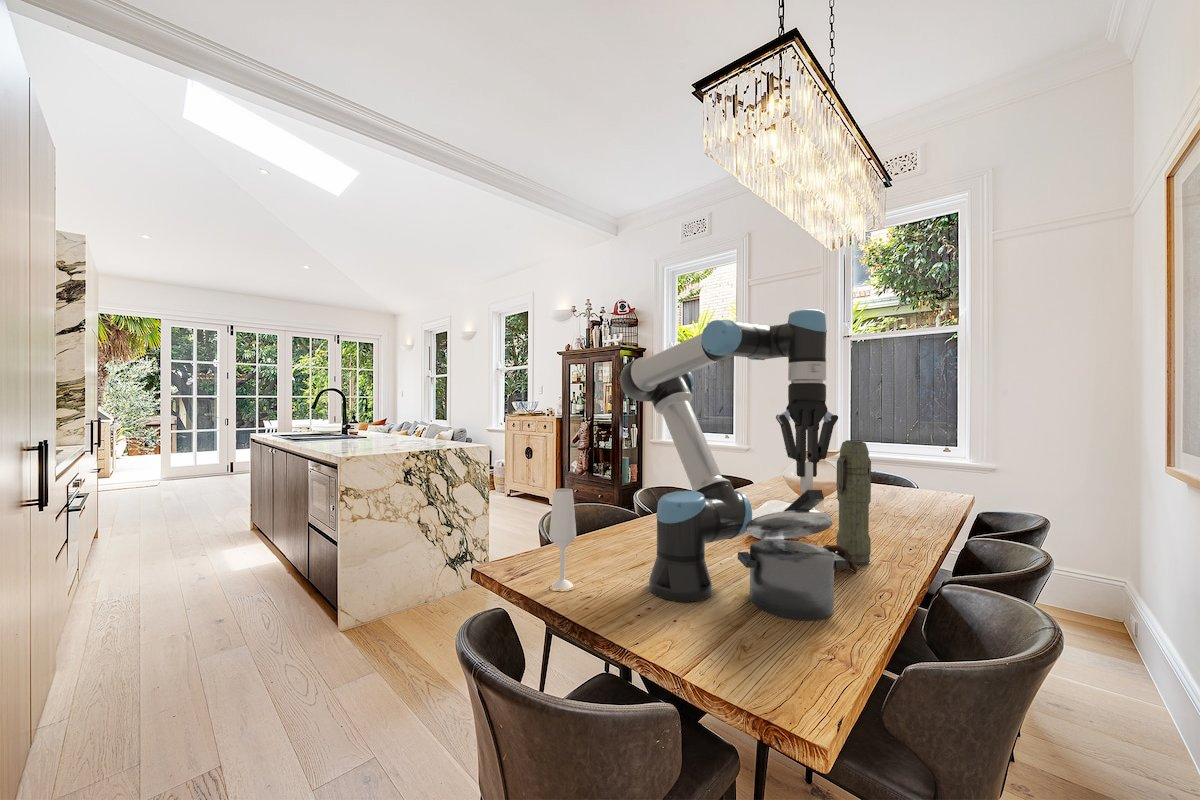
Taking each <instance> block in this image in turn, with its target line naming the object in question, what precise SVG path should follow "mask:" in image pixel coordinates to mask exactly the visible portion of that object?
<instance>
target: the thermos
mask: <svg viewBox="0 0 1200 800" xmlns="http://www.w3.org/2000/svg"><path fill="white" fill-rule="evenodd" d="M839 448H840V449H839V457H838V459H837V460H836V494H837V495H836V496H837V497H836V498H837V501H838V531H837V533H836V545H839V546H842V547H844V548H845V549H846V550H847V551H848V552H849V553H851V554H852V555H853V559H854V560H855V562H853V563H854V564H855V565H859V564H863V565H868V563H869V562H870V563H871V558H870V556H871V552H872V551H871V549H872V548H871V546H872V545H871V543H872V541H871V537H870V534H869V531H870V530H869V526H870V525H869V520H870V519H869V517H870V515H869V514H870V512H869V511H870V509H869V506H870V503H871V502H872V501H871V499H872V498H871V497H872V496H871V495H872V494H871V493H872V492H871V491H872V461H871V459H870V457H869V448H868V446H867V443H866V442H864V441H863V440H855V439H854V440H851V439H848V440H845V441H842V443H841V445H840V447H839ZM836 553H838V551H836ZM870 563H869V564H870Z"/></svg>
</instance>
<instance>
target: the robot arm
mask: <svg viewBox="0 0 1200 800" xmlns="http://www.w3.org/2000/svg"><path fill="white" fill-rule="evenodd" d="M827 332H828V330H827V322H826V313H824V311H822V310H819V309H800V310H794V311H793V312H790V313H789V314H788V320H787V322H786V323H783V324H775V325H763V324H755V323H746V322H741V321H740V322H739V321H733V320H730V319H715V320H712V321H709V322H708V323H707V325H706V326H705V327H703V330H702V332H701V333H699V334H697V335H696V336H692V337H691V338H689V339H686V340H684V341H682V342H680V343H678V344H676V345H673V346H671V347H669V348H667V349H665V350H662V351H660V352H658V353H656V354H654V355H652V356H650V357H643V356H642V357H638V358H636V359H634V360H632V361H630V362H629V363H627V364H626V365H625V366H624V367H623V369H622V370H621V373H620V376H619V384H620V387H621V390H622V392H623V393H624V394H625V395H626V396H627V397H628V398H630V399H632V400H634V401H637V402H651V403H652V405H653V408H654V410H655V412H656V413H657V414H659V415H662V417H663V418H664V421H665V424H666V427H667V429H668V431H669V434H670V436H671V439H672V442H673V444H674V446H675V450H676V452H677V454H678V457H679V459H680V462H681V464H682V466H683V469H684V472H685V475H686V476H687V479H688V482H689V484H690V487H691V490H677V491H672V492H668V493H665V494H663V495H662V496H661V497H660V498H659V499H658V502H657V511H656V515H655V516H656V557H655V560H654V564H653V567H652V570H651V573H650V576H649V581H648V583H649V585H648V586H649V587H648V588H649V591H650V590H651V591H652V592H653V593H654V594H653V593H652V592H651V591H650V592H651V593H652V594H653V595H655V594H656V595H655V596H657V595H658V596H657V597H659V596H660V597H659V598H661V597H662V598H661V599H664V598H665V600H668V599H669V600H668V601H672V600H675V601H674V602H681V601H684V602H683V603H687V602H689V603H690V601H691V603H692V602H698V601H702V600H705V599H707V598H709V597H710V596H711V595H712V593H713V590H712V589H713V588H712V586H713V584H712V583H713V582H712V579H711V576H710V573H709V570H708V566H707V563H706V559H705V556H706V555H705V553H706V552H705V550H706V548H705V547H706V544H708V543H713V542H718V541H722V540H723V541H725V540H733V539H734V538H738V537H740V536H742V535H744V534H745V533H747V530H746V524H747V523H748V522H749V521H751V520H753V508H752V505H751V502H750V500H749V498H748V497H747V496H746V495H745V494H744V493H742V492H741V491H738V490H735V489H734V487H733V484H732V482H731V480H730V479H727V478H725V477H723V476H722V473H721V471H720V469H719V466H718V464H717V462H716V460H715V457H714V456H713V453H712V451H711V449H710V446H709V444H708V442H707V439H706V437H705V434H704V432H703V431H702V428H701V425H700V423H699V421H698V418H697V416H696V414H695V412H694V410H693V407H692V405H691V403H692V400H693V393H694V391H695V387H694V385H695V380H694V377H693V374H692V373H691V372H694V371H697V370H699V369H701V368H702V369H703V368H704V367H707V366H710V365H712V364H715V363H718V362H720V361H723V360H726V359H729V358H732V357H739V358H740V357H741V358H747V359H748V360H750V361H751V360H752V361H765V360H768V359H779V358H788V359H787V360H788V365H787V366H788V371H787V372H788V373H787V374H788V375H787V378H788V379H787V380H788V381H789V382H790V383H789V384H788V385H787V388H788V390H787V391H788V393H787V394H788V396H787V398H788V399H787V400H788V404H787V406H786V409H785V411H783V412H782V413H781V414H776V415H775V419H776V421H777V423H778V424H779V425H780V428H781V429H780V431H781V434H782V437H783V441H784V447H785V452H786V454H787V457H788V458H789V459H792V460H794V461H795V462H796V476H797V477H800V479H799V481H800V487H799V488H800V489H799V490H800V492H802V493H805V492H806V491H807V490H814V478H816V477H817V475H818V463H819V462H820V461H821V460H825V459H826V458H827V455H828V451H829V448H830V447H829V446H830V443H831V438H832V434H833V429H834V426H835V424H836V423H837V421H838V420H839V416H838V415H837V414H834V413H832V412H829V410H828V406H827V405H826V404H827V403H826V401H827V400H826V399H827V385H826V383H824V382H825V381H826V380H827V358H826V353H827V352H826V351H827ZM791 420H792V421H793V423H794V429H795V438H794V435H793V433H794V432H793V430H792V426H791V424H790V421H791ZM822 420H823V423H822V426H821V430H820V422H821V421H822ZM819 430H820V434H819ZM807 460H808V461H807ZM685 601H686V602H685Z"/></svg>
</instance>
